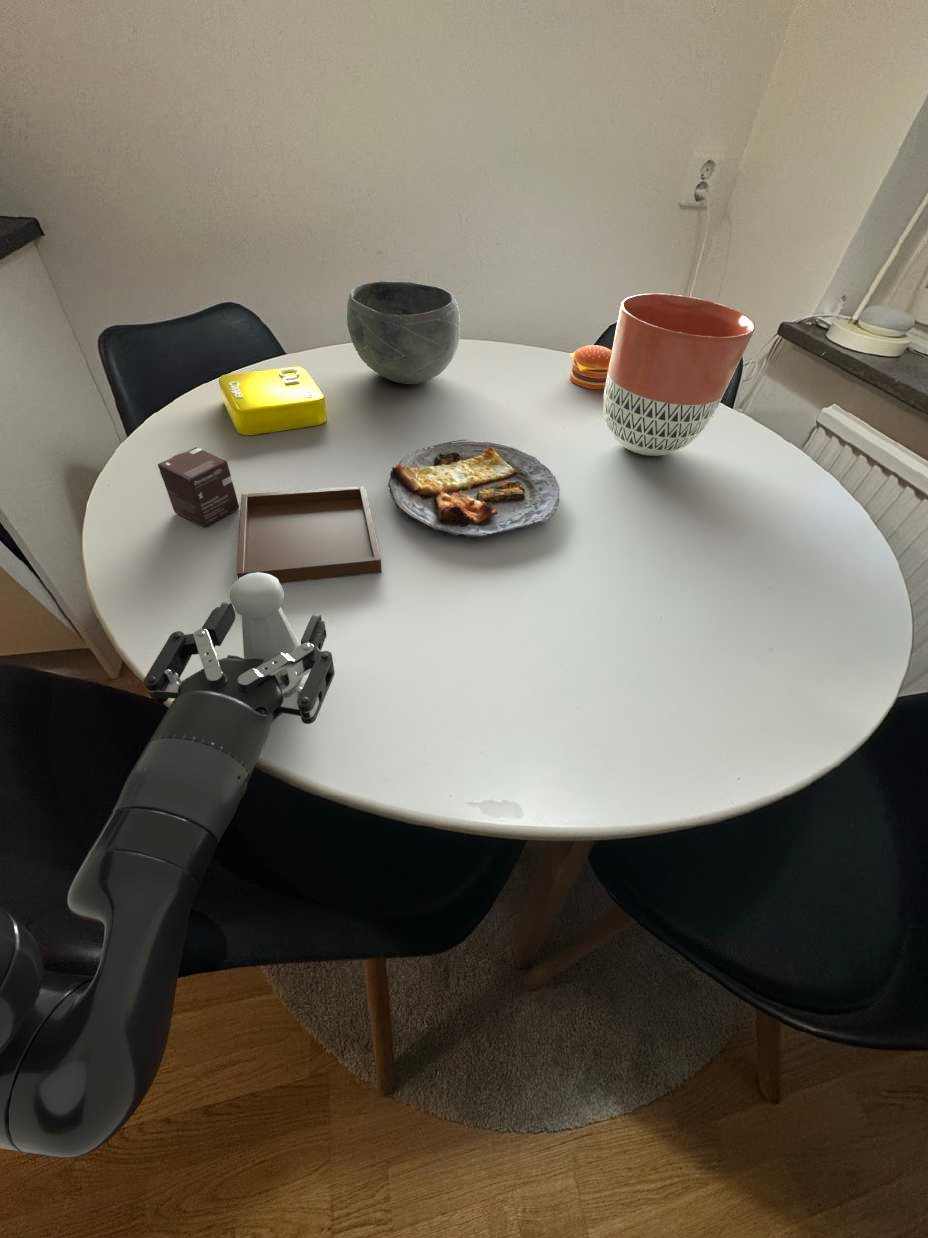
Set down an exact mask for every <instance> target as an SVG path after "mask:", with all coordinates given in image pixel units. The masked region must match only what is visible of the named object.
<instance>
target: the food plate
mask: <svg viewBox="0 0 928 1238" xmlns="http://www.w3.org/2000/svg"><path fill="white" fill-rule="evenodd" d="M389 474H390V475H389V480H388V484H387V487H388V489H389V490H388V491H389V493H390V496H391V498H392V500H393V502H394V504H395V506H396V508H397V509H398V510H399V511H400V512H401V513H402V514H403V515H404V516H406V517H408V518H410V519H411V520H414V521H416V522H418V523H420V524H422V525H424V526H425V527H426V528H428V529H429V530H433V531H436V532H437V533H444V536H447V532H448V533H449V535H451V536H453V537H457V536H459V535H464V536H465V537H466V538H469V539H470V538H478V537H488V536H489V535H494V534H499V533H505V532H509V531H510V532H511V531H514V530H515V529H519V528H523V527H528V526H529V525H531V524H534V523H545V522H547V521H548V520H550V519H551V518H552V517H553V516H554V515H555V514H556V512H557V511H558V508H559V507H560V505H559V504H560V493H561V492H560V491H561V488H560V484H559V483H558V481H557V478H556V475H554V474H553V472H552V471H551V470H550V469H549V468H548V467H546V465H545V464H544V463H542V462H541V461H540V460H539V459H538V458H537V457H536V456H533V455H531V454H529V453H527V452H524V451H522V450H520V449H519V448H517V447H513V446H510V445H507V444H503V443H500V442H495V441H493V442H492V441H487V440H485V441H479V440H478V441H476V440H466V439H458V440H452V441H447V442H443V443H438V444H434V445H431V446H427V447H423V448H420V449H417V450H415V451H412V452H410V453H408V454H406V455H405V456H404V457H403V458H402V459H401V460H400V461H399V462H398V464H396V465H395V467H394V466H392V468H391V471H390V473H389Z"/></svg>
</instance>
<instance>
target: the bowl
mask: <svg viewBox="0 0 928 1238" xmlns="http://www.w3.org/2000/svg"><path fill="white" fill-rule="evenodd" d="M346 325H347V330H348V333H349V337H350V340H351V343H352V345H353V347H354V349H355V351H356V353H357V355H358V357H360V359H361V361H363V363H364V364H365V365H366V366H367V368H369V369H371V370H372V371H373V372H375V373H376V374H377V375H379V376H380V377H383V378H384V379H386V380H388V381H391V382H394V383H397V384H402V385H418V384H422V383H425V382H428V381H431V380H432V379H434V378H435V377H438V376H439V375H440V374H442V373H443V372H444V371H445V370H446V369H447V368H448V366H449V365H450V363H451V362H452V361H453V359H454V357H455V355H456V352H457V349H458V347H459V343H460V340H461V339H460V338H461V314H460V309H459V305H458V301H457V299H456V297H455V295H454V294H453V293H452V292H450V291H449V290H447V289H445V288H442V287H439V286H434V285H430V284H425V283H418V282H415V281H414V282H412V281H384V280H379V281H371V282H364V283H361V284H357V285H356V286H355V287H353V288H352V289H351V290H350V292H349V295H348V299H347V305H346Z"/></svg>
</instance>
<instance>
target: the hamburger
mask: <svg viewBox="0 0 928 1238" xmlns="http://www.w3.org/2000/svg"><path fill="white" fill-rule="evenodd" d="M611 352H612V349H609V348H608V347H606V346H602V345H595V344H591V345H590V344H588V345H585V346H582V347H579V348H577V349H576V350H574V352H571V353H569V357H571V358H572V359H573V360H572V363H571V367H572V368H571V371H570V372H569V379H570V381H571V382H572V383H573V384H575V385H577V386H580V387H582V388H586V389H589V390H590V389H591V390H604V388H605V383H606V377H607V372H608V367H609V362H610V357H611Z"/></svg>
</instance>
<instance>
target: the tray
mask: <svg viewBox="0 0 928 1238" xmlns="http://www.w3.org/2000/svg"><path fill="white" fill-rule="evenodd" d="M371 512H372V511H371V508H370V503H369V499H368V494H367V490H366V485H356V486H343V487H341V486H340V487H326V488H313V489H297V490H283V491H282V490H281V491H267V492H266V491H265V492H254V493H242V494H241V495H240V506H239V527H238V528H239V530H238V541H237V542H238V543H237V557H236V558H237V559H236V560H237V561H236V578H237V580H238V579H239V578H240V577H242V576H245V575H247V574H250V573H256V572H260V573H266V574H270V575H272V576H274V577H275V578H277V579H278V581H279V583H280V584H284V583H295V582H305V581H313V580H322V579H333V578H341V577H353V576H363V575H371V574H372V575H373V574H381V573H382V559H381V553H380V549H379V544H378V539H377V536H376V530H375V526H374V521H373V517H372V513H371Z"/></svg>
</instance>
